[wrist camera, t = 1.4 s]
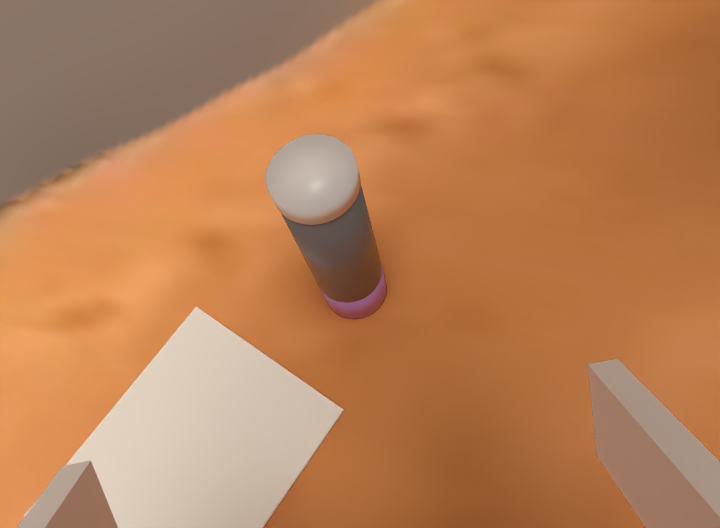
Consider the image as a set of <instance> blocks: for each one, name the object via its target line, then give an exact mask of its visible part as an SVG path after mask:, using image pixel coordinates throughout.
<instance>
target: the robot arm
mask: <svg viewBox="0 0 720 528" xmlns="http://www.w3.org/2000/svg"><path fill="white" fill-rule="evenodd" d="M588 373H589V384H590V394H591V404H592V414H593V425H594V435H595V445H596V455H597V457H598V458H599V460H600V461H601V463H602V464H603V466H604V467H605V469H606V470H607V472H608V473H609V475H610V476H611V478H612V479H613V480H614V482H615V483H616V485H617V486H618V488H619V489H620V491H621V492H622V494H623V495H624V497H625V498H626V500H627V501H628V503H629V504H630V506H631V507H632V509H633V510H634V512H635V513H636V515H637V516H638V517H639V519H640V520H641V522H642V523H643V525H644V526H645V528H720V461H719V460H718V459H717V458H716V457H715V456H714V455H713V454H712V453H711V452H710V451H709V450H708V449H707V448H706V447H705V446H704V445H703V444H702V443H701V442H700V441H699V440H698V439H697V438H696V437H695V436H694V435H693V434H692V433H691V432H690V431H689V430H688V429H687V428H686V427H685V426H684V425H683V424H682V423H681V422H680V421H679V420H678V419H677V418H676V417H675V416H674V415H673V414H672V413H671V412H670V411H669V410H668V409H667V408H666V407H665V406H664V405H663V404H662V403H661V402H660V401H659V400H658V399H657V398H656V397H655V396H654V395H653V394H652V393H651V392H650V391H649V390H648V389H647V388H646V387H645V386H644V385H643V384H642V383H641V382H640V381H639V380H638V379H637V378H636V377H635V376H634V374H633V373H632V372H631V371H630V370H629V369H628V368H627V367H626V366H625V365H624V364H623V363H622V362H621V361H620V360H619V359H613V360H608V361H602V362H597V363H592V364H588ZM17 528H118V526H117V524H116V521H115V519H114V516H113V514H112V511H111V509H110V507H109V504H108V502H107V499H106V497H105V494H104V492H103V489H102V487H101V484H100V482H99V479H98V477H97V474H96V472H95V469H94V467H93V464H92V462H91V460H90V461H85V462H80V463H75V464H70V465H64V466H62V468H61V469H60V470H59V472H58V473H57V474H56V476H55V477H54V478H53V480H52V481H51V482H50V484H49V485H48V486H47V488H46V489H45V490H44V492H43V493H42V494H41V496H40V497H39V498H38V500H37V501H36V502H35V504H34V505H33V507H32V508H31V509H30V511H29V512H28V513H27V515H26V516H25V517H24V519H23V520H22V521H21V523H20V524H19V525H18V527H17Z"/></svg>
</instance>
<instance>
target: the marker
mask: <svg viewBox="0 0 720 528" xmlns="http://www.w3.org/2000/svg"><path fill="white" fill-rule="evenodd" d="M360 181H361V180H360V174H359V170H358V166H357V162H356V159H355V156H354V154H353V152H352V150H351V149H350V148H349V147H348V146H347V145H346V144H345V143H344V142H343V141H341V140H339V139H337V138H335V137H332V136H329V135H323V134H313V135H306V136H302V137H299V138H297V139H294V140H292V141H290V142H288V143H287V144H285V145H284V146H283V147H282V148H280V149H279V150H278V151H277V152H276V154H275V155H274V156H273V157H272V159H271V161H270V163H269V165H268V168H267V172H266V185H267V188H268V191H269V193H270V195H271V197H272V199H273V201H274V203H275V205H276V206H277V208H278V210H279V211H280V212H281V214H282V216H283V217H284V219H285V221H286V223H287V225H288V227H289V229H290V231H291V233H292V235H293V237H294V239H295V241H296V243H297V245H298V246H299V248H300V250H301V252H302V254H303V256H304V258H305V260H306V262H307V264H308V266H309V268H310V270H311V272H312V274H313V275H314V277H315V279H316V281H317V283H318V285H319V287H320V289H321V291H322V293H323V295H324V297H325V299H326V301H327V303H328V304H329V306H330V308H331V309H332V310H333V311H334V312H335V313H336V314H338V315H340V316H342V317H344V318H348V319H361V318H364V317H367V316H369V315H371V314H373V313H374V312H375V311H377V310H378V309H379V308H380V306H381V305H382V303H383V302H384V299H385V297H386V292H387V286H386V281H385V277H384V273H383V269H382V265H381V261H380V257H379V254H378V250H377V246H376V242H375V238H374V234H373V230H372V226H371V222H370V218H369V214H368V210H367V207H366V203H365V199H364V195H363V191H362V187H361V183H360Z"/></svg>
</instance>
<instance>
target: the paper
mask: <svg viewBox="0 0 720 528" xmlns="http://www.w3.org/2000/svg"><path fill="white" fill-rule="evenodd" d="M343 411H344V409H342V408H341V407H339V406H338V405H336V404H335V403H334V402H332V401H331V400H329V399H328V398H326V397H325V396H324V395H322V394H321V393H319V392H318V391H316V390H315V389H314V388H312V387H311V386H309V385H308V384H306V383H305V382H304V381H302V380H301V379H299V378H298V377H296V376H295V375H294V374H292V373H291V372H289V371H288V370H286V369H285V368H284V367H282V366H281V365H279V364H278V363H276V362H275V361H274V360H272V359H271V358H269V357H268V356H266V355H265V354H264V353H262V352H261V351H259V350H258V349H256V348H255V347H254V346H252V345H251V344H249V343H248V342H246V341H245V340H244V339H242V338H241V337H239V336H238V335H236V334H235V333H234V332H232V331H231V330H229V329H228V328H226V327H225V326H224V325H222V324H221V323H219V322H218V321H216V320H215V319H214V318H212V317H211V316H209V315H208V314H206V313H205V312H204V311H202V310H201V309H199V308H198V307H195V309H194V310H193V311H192V312H191V313H190V315H189V316H188V317H187V318H186V320H185V321H184V322H183V323H182V324H181V326H180V327H179V328H178V329H177V330H176V332H175V333H174V334H173V335H172V337H171V338H170V339H169V340H168V341H167V343H166V344H165V345H164V346H163V347H162V349H161V350H160V351H159V352H158V354H157V355H156V356H155V357H154V358H153V360H152V361H151V362H150V363H149V364H148V366H147V367H146V368H145V369H144V371H143V372H142V373H141V374H140V375H139V377H138V378H137V379H136V380H135V381H134V383H133V384H132V385H131V386H130V388H129V389H128V390H127V391H126V392H125V394H124V395H123V396H122V397H121V399H120V400H119V401H118V402H117V403H116V405H115V406H114V407H113V408H112V409H111V411H110V412H109V413H108V414H107V416H106V417H105V418H104V419H103V420H102V422H101V423H100V424H99V425H98V426H97V428H96V429H95V430H94V431H93V433H92V434H91V435H90V436H89V437H88V439H87V440H86V441H85V442H84V443H83V445H82V446H81V447H80V448H79V450H78V451H77V452H76V453H75V454H74V456H73V457H72V458H71V459H70V460H69V462H68V463H67V464H66V465H70V464H75V463H80V462H85V461H90V460H91V462H92V464H93V467H94V469H95V472H96V474H97V477H98V479H99V482H100V484H101V487H102V489H103V492H104V494H105V497H106V499H107V502H108V504H109V507H110V509H111V511H112V514H113V516H114V519H115V521H116V524H117V526H118V528H263V527H264V526H265V525H266V523H267V522H268V520H269V519H270V517H271V516H272V514H273V513H274V511H275V510H276V509H277V507H278V506H279V504H280V503H281V501H282V500H283V498H284V497H285V496H286V494H287V493H288V491H289V490H290V488H291V487H292V485H293V484H294V482H295V481H296V480H297V478H298V477H299V475H300V474H301V472H302V471H303V469H304V468H305V466H306V465H307V464H308V462H309V461H310V459H311V458H312V456H313V455H314V453H315V452H316V450H317V449H318V448H319V446H320V445H321V443H322V442H323V440H324V439H325V437H326V436H327V434H328V433H329V432H330V430H331V429H332V427H333V426H334V424H335V423H336V421H337V420H338V418H339V417H340V416H341V414H342V413H343ZM37 500H38V499H37ZM34 504H35V503H34ZM34 504H33V505H34ZM33 505H32V507H33ZM32 507H31V508H32ZM31 508H30V509H31ZM30 509H29V510H28V511H27V513H28V512H29V511H30ZM27 513H26V514H25V515H24V517H25V516H26V515H27Z"/></svg>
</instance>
